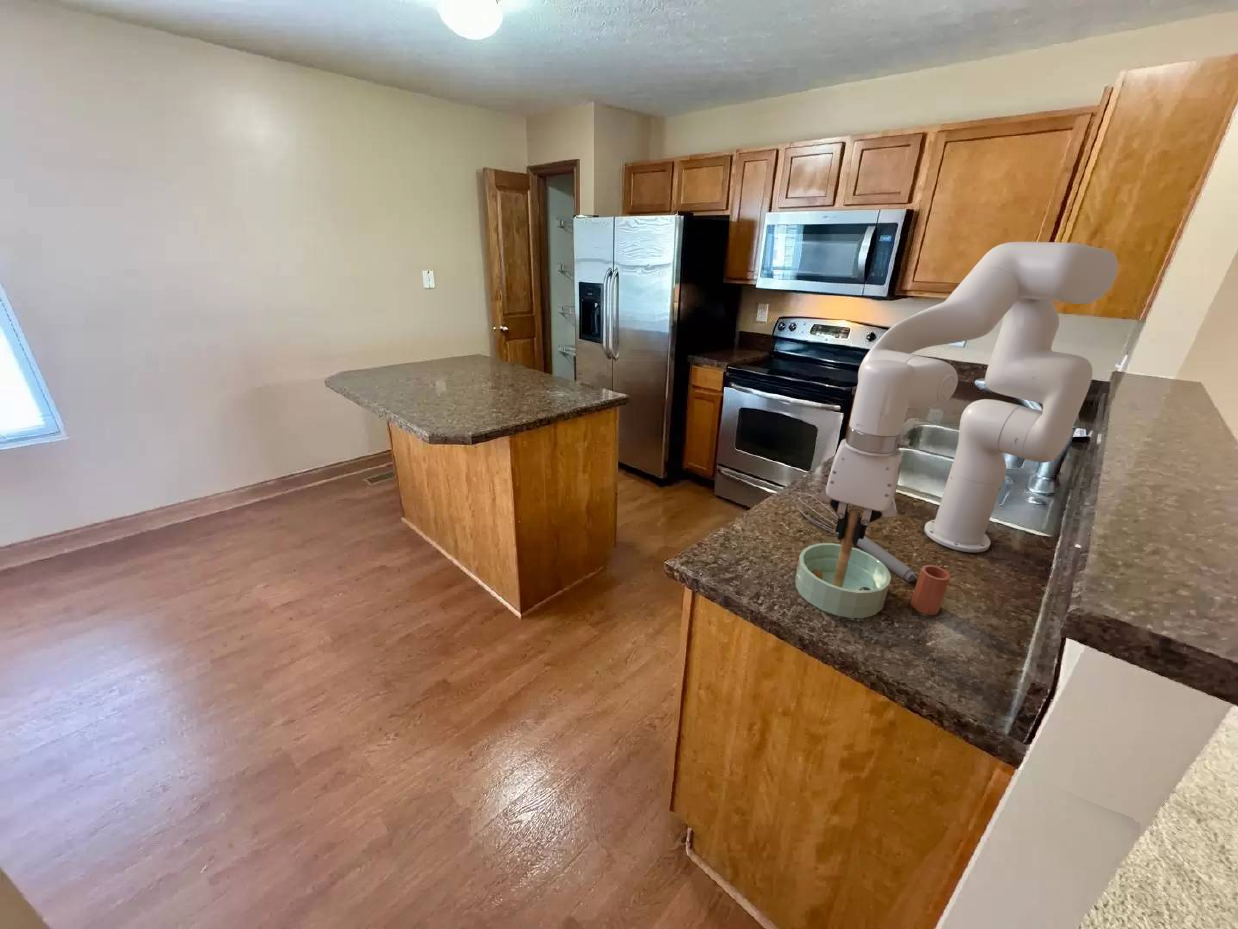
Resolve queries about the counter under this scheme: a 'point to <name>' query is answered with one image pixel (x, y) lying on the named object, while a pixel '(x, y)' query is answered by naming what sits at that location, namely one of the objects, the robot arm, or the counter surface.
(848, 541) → the stirring stick
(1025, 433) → the robot arm
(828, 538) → the counter surface
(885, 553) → the kitchen whisk
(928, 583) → the utensil pot
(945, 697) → the counter surface
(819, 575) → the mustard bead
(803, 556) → the mixing bowl
